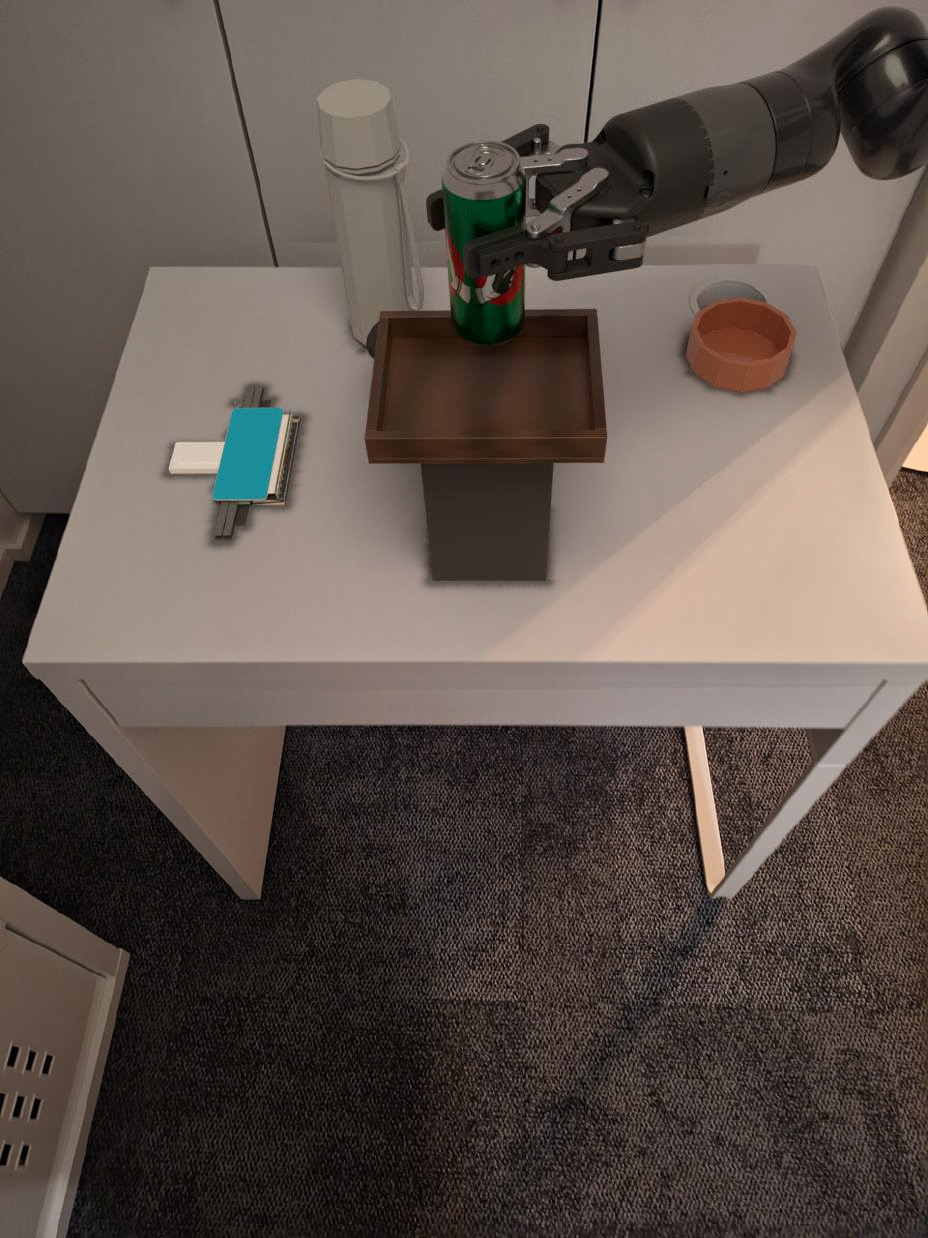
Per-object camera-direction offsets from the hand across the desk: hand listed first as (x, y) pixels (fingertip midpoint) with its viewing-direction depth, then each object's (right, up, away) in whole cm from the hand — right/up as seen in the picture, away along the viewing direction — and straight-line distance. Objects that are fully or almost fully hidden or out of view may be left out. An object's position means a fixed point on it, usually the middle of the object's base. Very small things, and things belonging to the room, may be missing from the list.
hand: (448, 237), depth 56 cm
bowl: (+30, +4, +40) cm, 50 cm away
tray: (+3, -7, +12) cm, 14 cm away
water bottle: (-7, +7, +44) cm, 45 cm away
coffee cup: (-4, -2, +37) cm, 37 cm away
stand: (+3, -17, +27) cm, 32 cm away
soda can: (+3, -3, +7) cm, 9 cm away
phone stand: (-22, -8, +34) cm, 41 cm away
